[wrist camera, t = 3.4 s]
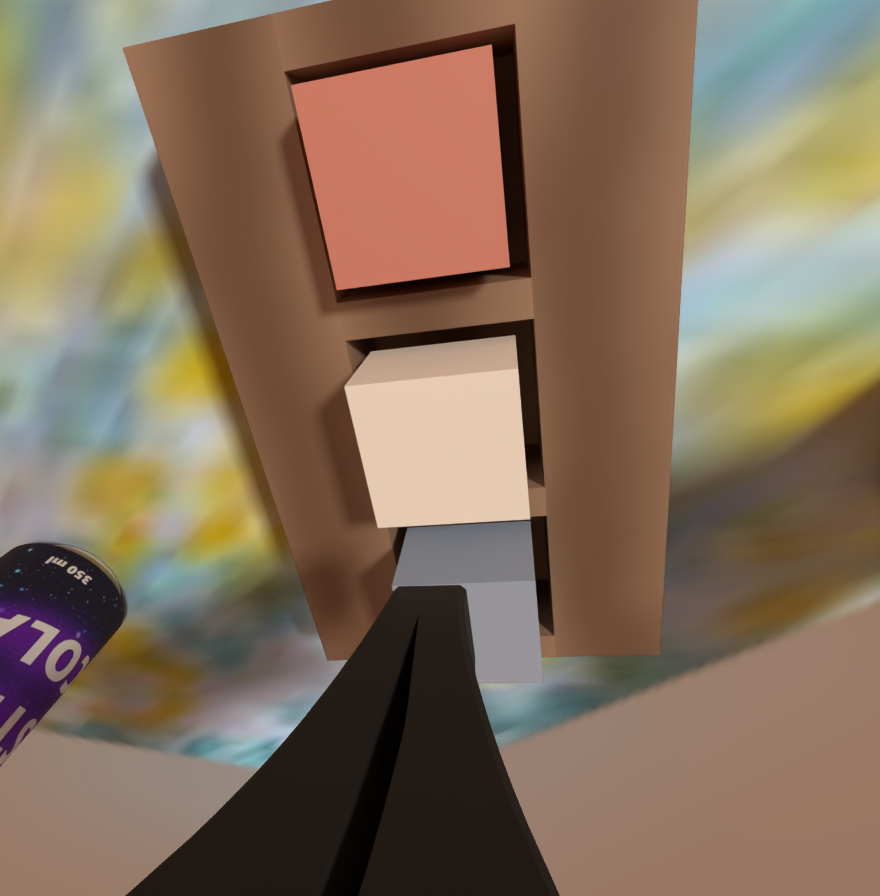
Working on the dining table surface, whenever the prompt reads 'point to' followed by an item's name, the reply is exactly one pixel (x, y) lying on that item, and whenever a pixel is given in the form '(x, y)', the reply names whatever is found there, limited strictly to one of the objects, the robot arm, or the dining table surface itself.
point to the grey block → (484, 590)
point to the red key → (407, 168)
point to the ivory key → (442, 433)
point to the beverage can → (49, 629)
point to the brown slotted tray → (455, 283)
